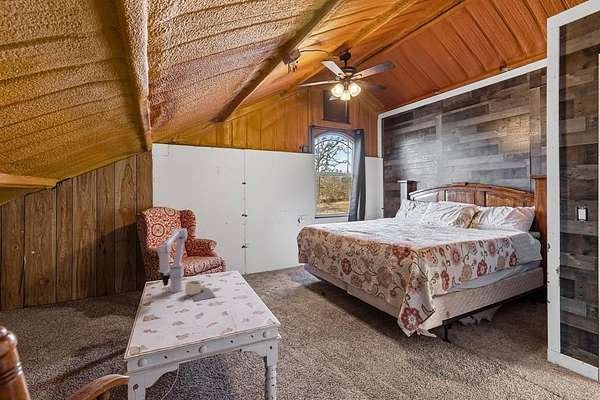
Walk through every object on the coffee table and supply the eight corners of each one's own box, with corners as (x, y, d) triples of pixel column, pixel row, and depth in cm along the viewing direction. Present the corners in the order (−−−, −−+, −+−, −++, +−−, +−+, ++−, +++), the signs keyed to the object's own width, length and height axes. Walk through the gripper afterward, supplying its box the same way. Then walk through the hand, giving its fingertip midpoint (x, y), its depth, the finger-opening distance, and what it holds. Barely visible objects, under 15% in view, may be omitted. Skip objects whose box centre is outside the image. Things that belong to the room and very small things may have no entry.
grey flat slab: (189, 291, 194) (189, 291, 193) (208, 288, 200) (208, 287, 200) (194, 301, 176) (194, 300, 176) (215, 297, 183) (215, 296, 183)
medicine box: (185, 282, 188) (201, 279, 198) (184, 292, 188) (200, 289, 197) (191, 284, 184) (207, 281, 193) (190, 295, 183) (206, 291, 193)
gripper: (156, 261, 184) (157, 281, 184) (158, 266, 171) (159, 288, 172) (168, 259, 187) (169, 279, 188) (170, 264, 175) (171, 286, 175)
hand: (165, 283), depth 180 cm, fingers open, 7 cm apart
